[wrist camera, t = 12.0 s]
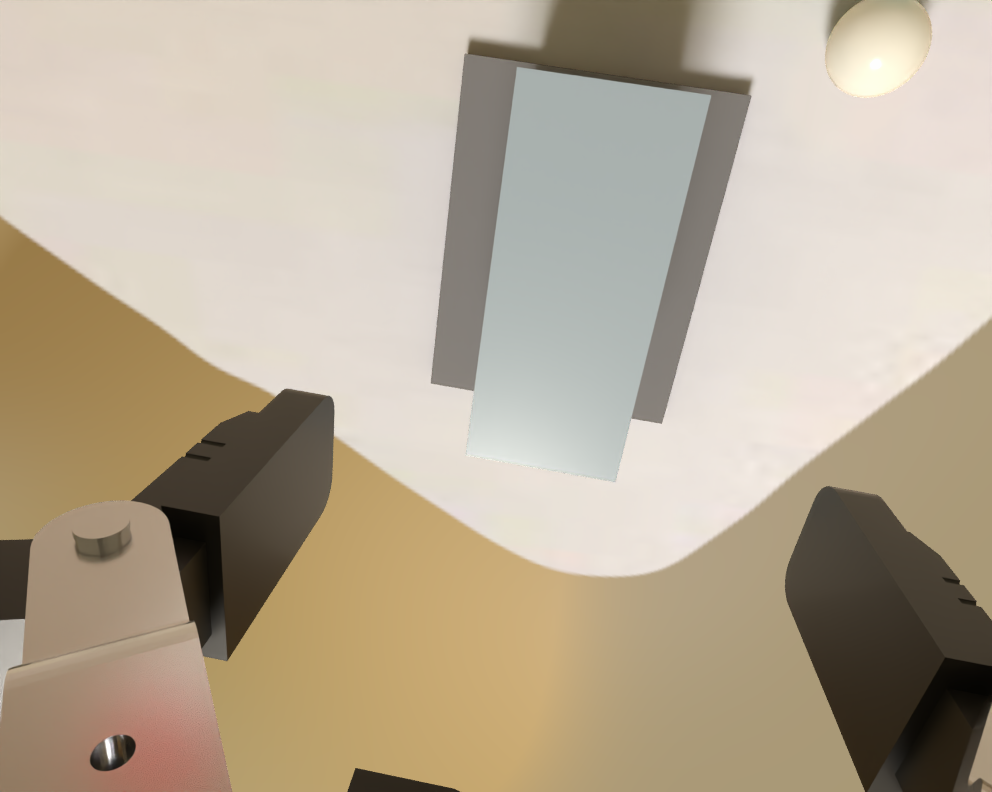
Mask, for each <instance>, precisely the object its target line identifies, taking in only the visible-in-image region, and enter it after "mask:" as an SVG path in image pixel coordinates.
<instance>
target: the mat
mask: <svg viewBox="0 0 992 792" xmlns="http://www.w3.org/2000/svg"><path fill="white" fill-rule="evenodd" d="M517 67H521V68H528V69H535V70H542V71H548V72H555V73H562V74H569V75H576V76H583V77H590V78H596V79H603V80H610V81H617V82H624V83H631V84H638V85H644V86H651V87H658V88H665V89H672V90H679V91H686V92H692V93H699V94H706V95H711V99H710V103H709V107H708V111H707V115H706V119H705V123H704V127H703V131H702V135H701V139H700V143H699V147H698V152H697V156H696V160H695V164H694V168H693V172H692V176H691V180H690V184H689V188H688V192H687V196H686V200H685V204H684V208H683V212H682V216H681V220H680V224H679V228H678V232H677V236H676V240H675V244H674V248H673V252H672V256H671V260H670V264H669V268H668V272H667V276H666V280H665V284H664V288H663V293H662V297H661V301H660V305H659V309H658V313H657V317H656V321H655V325H654V329H653V333H652V337H651V341H650V345H649V349H648V353H647V357H646V361H645V365H644V369H643V373H642V377H641V381H640V385H639V389H638V393H637V397H636V401H635V405H634V409H633V413H632V417H631V418H632V419H638V420H644V421H649V422H655V423H661V424H662V421H663V418H664V414H665V410H666V407H667V403H668V399H669V396H670V392H671V388H672V385H673V381H674V377H675V374H676V370H677V366H678V363H679V359H680V355H681V352H682V348H683V344H684V341H685V337H686V333H687V330H688V326H689V322H690V319H691V315H692V311H693V308H694V304H695V300H696V297H697V293H698V289H699V286H700V282H701V278H702V275H703V271H704V267H705V264H706V260H707V256H708V253H709V249H710V245H711V242H712V238H713V234H714V231H715V227H716V224H717V220H718V216H719V213H720V209H721V205H722V202H723V198H724V194H725V191H726V187H727V183H728V180H729V176H730V172H731V169H732V165H733V161H734V158H735V154H736V150H737V147H738V143H739V139H740V136H741V132H742V128H743V125H744V121H745V117H746V114H747V110H748V106H749V103H750V99H751V96H750V95H744V94H737V93H730V92H723V91H716V90H710V89H703V88H696V87H689V86H682V85H676V84H669V83H662V82H655V81H648V80H642V79H635V78H628V77H621V76H614V75H608V74H601V73H594V72H587V71H580V70H573V69H567V68H560V67H553V66H546V65H539V64H533V63H526V62H519V61H512V60H505V59H499V58H492V57H485V56H478V55H471V54H465V56H464V66H463V76H462V86H461V95H460V105H459V115H458V124H457V134H456V144H455V153H454V163H453V173H452V183H451V192H450V202H449V212H448V221H447V231H446V241H445V250H444V260H443V270H442V280H441V289H440V299H439V309H438V318H437V328H436V338H435V348H434V357H433V367H432V377H431V383H432V384H437V385H443V386H449V387H455V388H460V389H466V390H472V391H474V388H475V380H476V373H477V365H478V358H479V350H480V343H481V335H482V327H483V320H484V312H485V305H486V297H487V290H488V282H489V275H490V267H491V260H492V252H493V245H494V237H495V229H496V222H497V214H498V207H499V199H500V192H501V184H502V177H503V169H504V162H505V154H506V146H507V139H508V131H509V124H510V116H511V109H512V101H513V94H514V86H515V79H516V71H517Z"/></svg>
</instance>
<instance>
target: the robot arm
mask: <svg viewBox="0 0 992 792" xmlns="http://www.w3.org/2000/svg"><path fill="white" fill-rule="evenodd" d="M333 437H334V403H333V399H332V398H331V397H330V396H326V395H320V394H315V393H309V392H303V391H298V390H292V389H284V390H283V391H282V392H281V393H280V394H278V395H277V396H276V397H275V398H274V399H273V400H272V401H271V402H270V403H269V404H268V405H267V406H266V407H265V408H264V409H263V410H262V411H261V412H259V413H256V412H250V411H248V412H246V413H243V414H241V415H238V416H236V417H234V418H231V419H229V420H226V421H224V422H222V423H220V424H219V425H218V426H216V427H215V428H214V429H213V430H212V431H211V432H209V433H208V434H207V435H206V436H205V437H204V438H203V439H202V441H201V443H197V444H196V445H195V446H194V447H192V448H191V449H190V450H189V451H188V452H187V453H186V456H185V457H181V458H180V459H178V460H177V461H176V462H175V463H174V464H173V465H172V466H170V467H169V468H168V469H167V470H166V471H165V472H164V473H162V474H161V475H160V476H159V477H158V478H157V479H156V480H154V481H153V482H152V483H151V484H150V485H149V486H147V487H146V488H145V489H144V490H143V491H142V492H141V493H139V494H138V495H137V496H136V497H135V498H134V499H133V500H131V501H108V502H100V503H95V504H90V505H86V506H83V507H80V508H77V509H74V510H71V511H69V512H67V513H64V514H63V515H60V516H59V517H57V518H55V519H54V520H52V521H50V522H49V523H48V524H46V525H45V526H44V527H43V528H42V529H41V530H40V531H39V532H38V533H37V534H36V535H35V537H34V539H30V540H0V792H232V789H231V784H230V780H229V775H228V770H227V766H226V761H225V756H224V752H223V747H222V743H221V738H220V733H219V729H218V724H217V719H216V715H215V710H214V705H213V701H212V696H211V691H210V687H209V682H208V677H207V673H206V668H205V664H204V659H203V656H205V657H209V658H215V659H220V660H224V661H227V660H228V659H229V657H230V656H231V654H232V653H233V651H234V650H235V648H236V646H237V645H238V644H239V642H240V640H241V639H242V637H243V636H244V634H245V633H246V631H247V629H248V628H249V626H250V625H251V623H252V622H253V620H254V619H255V617H256V615H257V614H258V612H259V611H260V609H261V608H262V606H263V605H264V603H265V602H266V600H267V598H268V597H269V595H270V594H271V592H272V591H273V589H274V588H275V586H276V584H277V582H278V581H279V579H280V578H281V577H282V575H283V574H284V572H285V570H286V569H287V567H288V566H289V564H290V563H291V561H292V560H293V558H294V556H295V555H296V553H297V552H298V550H299V549H300V547H301V545H302V544H303V542H304V541H305V539H306V538H307V536H308V534H309V533H310V532H311V530H312V528H313V527H314V525H315V524H316V522H317V521H318V519H319V518H320V516H321V514H322V513H323V511H324V508H325V506H326V503H327V500H328V497H329V493H330V489H331V483H332V467H333ZM959 582H960V580H959V579H958V577H957V576H956V575H955V574H954V573H953V571H952V570H951V569H950V567H949V566H948V565H947V564H946V562H945V561H944V560H943V559H942V557H941V556H940V555H939V554H937V553H936V552H935V551H933V550H932V549H931V548H930V547H928V546H927V545H926V544H924V543H923V542H922V541H921V540H919V539H918V538H917V537H915V536H914V535H913V534H911V533H910V532H907V531H906V530H905V529H904V527H903V526H902V524H901V523H900V522H899V520H898V519H897V518H896V516H895V515H894V514H893V512H892V511H891V510H890V508H889V507H888V506H887V505H886V503H885V502H884V501H883V499H882V498H881V497H879V496H878V495H875V494H869V493H864V492H858V491H852V490H846V489H841V488H836V487H830V486H828V487H824V488H823V489H821V490H820V492H819V493H818V494H817V496H816V498H815V500H814V502H813V505H812V507H811V510H810V512H809V514H808V517H807V519H806V522H805V524H804V527H803V529H802V532H801V534H800V536H799V539H798V542H797V544H796V546H795V549H794V551H793V554H792V556H791V559H790V561H789V564H788V567H787V572H786V579H785V592H786V598H787V602H788V605H789V607H790V610H791V612H792V615H793V617H794V620H795V622H796V624H797V627H798V629H799V632H800V634H801V637H802V639H803V642H804V644H805V646H806V649H807V651H808V653H809V656H810V659H811V661H812V663H813V666H814V668H815V671H816V673H817V676H818V678H819V680H820V683H821V685H822V688H823V690H824V692H825V695H826V697H827V700H828V702H829V705H830V707H831V710H832V712H833V714H834V717H835V719H836V722H837V724H838V727H839V729H840V732H841V734H842V736H843V739H844V741H845V744H846V746H847V749H848V751H849V753H850V756H851V758H852V761H853V763H854V766H855V768H856V770H857V773H858V775H859V778H860V780H861V783H862V785H863V787H864V790H865V792H992V620H991V619H990V618H989V616H988V615H987V614H986V613H985V611H984V610H983V609H982V608H981V607H978V606H976V600H975V599H974V598H973V596H972V595H971V594H970V593H969V591H968V590H967V589H966V588H965V586H964V585H960V584H959ZM348 792H460V791H457V790H456V789H452V788H448V787H443V786H438V785H434V784H429V783H424V782H419V781H415V780H410V779H405V778H400V777H396V776H391V775H385V774H381V773H376V772H372V771H367V770H362V769H358V768H355V771H354V774H353V777H352V780H351V783H350V786H349V789H348Z"/></svg>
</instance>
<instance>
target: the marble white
mask: <svg viewBox="0 0 992 792" xmlns="http://www.w3.org/2000/svg"><path fill="white" fill-rule="evenodd" d="M931 40H932V26H931V21H930V18H929V15H928V13H927V12H926V10H925V9H924V7H923V6H922V5H921V4H920V3H919V2H917V1H916V0H863V1H861V2H859V3H858V4H856V5H855V6H853V7H852V8H851V9H849V10H848V11H847V12H846V13H845V14H844V15H843V16H842V17H841V19H840V20H839V21H838V22H837V24H836V25H835V27H834V28H833V30H832V32H831V34H830V36H829V39H828V42H827V46H826V52H825V64H826V69H827V73H828V75H829V77H830V79H831V81H832V82H833V83H834V85H835V86H836V87H837V88H839V89H840V90H841V91H843V92H844V93H846V94H849V95H851V96H855V97H862V98H870V97H877V96H881V95H884V94H887V93H889V92H892V91H894V90H895V89H897V88H899V87H901V86H902V85H903V84H905V83H906V82H907V81H908V80H909V79H911V78H912V77H913V76H914V74H915V73H916V72H917V71H918V70H919V68H920V67H921V65H922V64H923V62H924V60H925V59H926V57H927V54H928V52H929V49H930V45H931Z"/></svg>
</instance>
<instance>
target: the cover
mask: <svg viewBox="0 0 992 792" xmlns="http://www.w3.org/2000/svg"><path fill="white" fill-rule="evenodd" d="M710 99H711V95H706V94H699V93H692V92H686V91H679V90H672V89H665V88H658V87H651V86H644V85H638V84H631V83H624V82H617V81H610V80H603V79H596V78H590V77H583V76H576V75H569V74H562V73H555V72H548V71H542V70H535V69H528V68H521V67H517V71H516V79H515V86H514V94H513V101H512V109H511V116H510V124H509V131H508V139H507V146H506V154H505V162H504V169H503V177H502V184H501V192H500V199H499V207H498V214H497V222H496V229H495V237H494V245H493V252H492V260H491V267H490V275H489V282H488V290H487V297H486V305H485V312H484V320H483V327H482V335H481V343H480V350H479V358H478V365H477V373H476V380H475V388H474V395H473V403H472V410H471V418H470V426H469V433H468V441H467V448H466V456H471V457H476V458H482V459H488V460H493V461H499V462H504V463H510V464H516V465H521V466H527V467H532V468H538V469H544V470H549V471H555V472H560V473H566V474H572V475H577V476H583V477H588V478H594V479H600V480H605V481H611V482H616V478H617V474H618V470H619V466H620V462H621V458H622V454H623V450H624V446H625V442H626V438H627V434H628V429H629V425H630V421H631V417H632V413H633V409H634V405H635V401H636V397H637V393H638V389H639V385H640V381H641V377H642V373H643V369H644V365H645V361H646V357H647V353H648V349H649V345H650V341H651V337H652V333H653V329H654V325H655V321H656V317H657V313H658V309H659V305H660V301H661V297H662V293H663V288H664V284H665V280H666V276H667V272H668V268H669V264H670V260H671V256H672V252H673V248H674V244H675V240H676V236H677V232H678V228H679V224H680V220H681V216H682V212H683V208H684V204H685V200H686V196H687V192H688V188H689V184H690V180H691V176H692V172H693V168H694V164H695V160H696V156H697V152H698V147H699V143H700V139H701V135H702V131H703V127H704V123H705V119H706V115H707V111H708V107H709V103H710Z"/></svg>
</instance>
